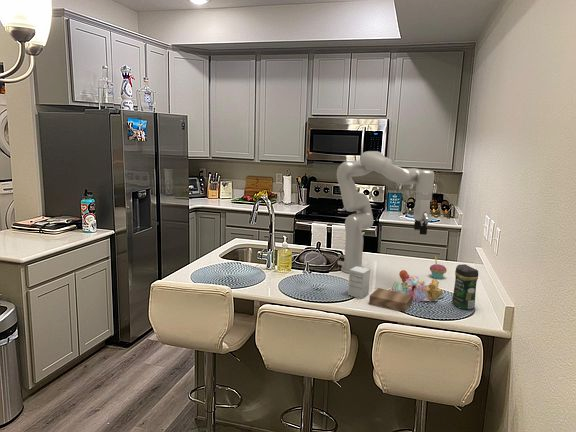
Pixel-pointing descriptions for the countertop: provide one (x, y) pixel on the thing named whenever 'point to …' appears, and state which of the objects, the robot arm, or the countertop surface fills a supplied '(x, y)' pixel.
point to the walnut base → (390, 299)
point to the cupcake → (437, 270)
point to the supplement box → (359, 282)
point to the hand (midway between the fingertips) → (420, 231)
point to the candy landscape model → (417, 288)
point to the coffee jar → (465, 287)
